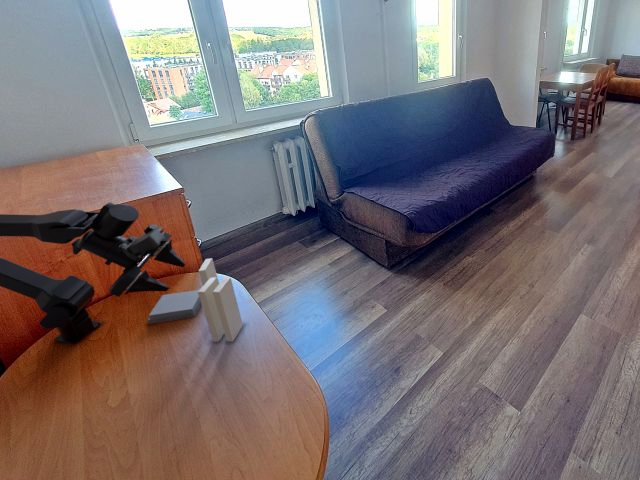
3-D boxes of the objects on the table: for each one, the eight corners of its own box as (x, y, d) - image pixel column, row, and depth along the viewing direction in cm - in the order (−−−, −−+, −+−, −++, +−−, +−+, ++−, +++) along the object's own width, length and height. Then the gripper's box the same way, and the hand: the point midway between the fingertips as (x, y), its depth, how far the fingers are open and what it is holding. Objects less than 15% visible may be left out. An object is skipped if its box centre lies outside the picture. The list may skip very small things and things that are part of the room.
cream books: (212, 341, 84) (197, 291, 78) (224, 325, 89) (210, 277, 83) (232, 341, 84) (219, 292, 78) (243, 325, 89) (230, 277, 83)
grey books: (148, 324, 89) (145, 316, 88) (163, 302, 96) (160, 295, 95) (194, 316, 91) (192, 309, 90) (205, 295, 99) (203, 289, 98)
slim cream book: (212, 318, 91) (198, 271, 85) (218, 304, 96) (205, 258, 90) (218, 317, 91) (205, 270, 86) (224, 303, 96) (212, 258, 90)
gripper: (107, 247, 71) (179, 280, 77) (153, 205, 88) (209, 235, 94) (77, 282, 72) (150, 312, 79) (128, 234, 89) (185, 262, 95)
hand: (176, 276), depth 87 cm, fingers open, 9 cm apart
